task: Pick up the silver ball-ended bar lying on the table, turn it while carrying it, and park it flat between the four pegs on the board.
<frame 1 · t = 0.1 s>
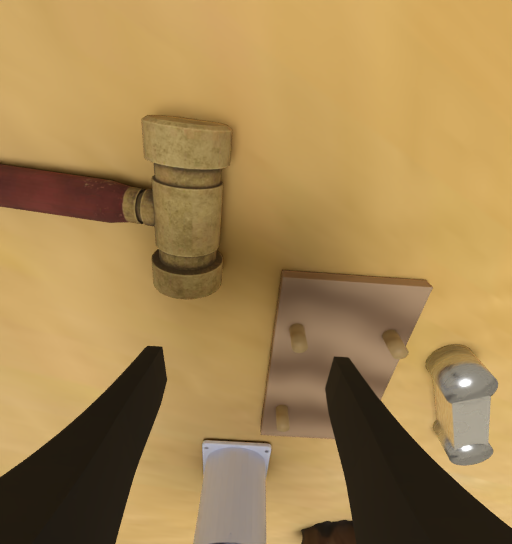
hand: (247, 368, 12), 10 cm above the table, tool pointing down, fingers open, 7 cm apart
gavel: (74, 186, 19), on the table
silver ball-ended bar: (450, 394, 28), on the table
dark brown rock: (340, 532, 46), on the table
board: (327, 366, 26), on the table
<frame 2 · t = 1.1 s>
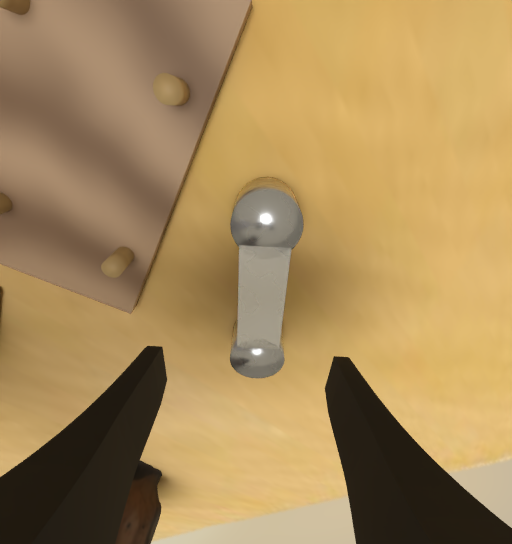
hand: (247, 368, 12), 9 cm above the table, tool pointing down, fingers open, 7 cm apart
silver ball-ended bar: (261, 277, 21), on the table
dark brown rock: (109, 475, 36), on the table
board: (90, 149, 16), on the table
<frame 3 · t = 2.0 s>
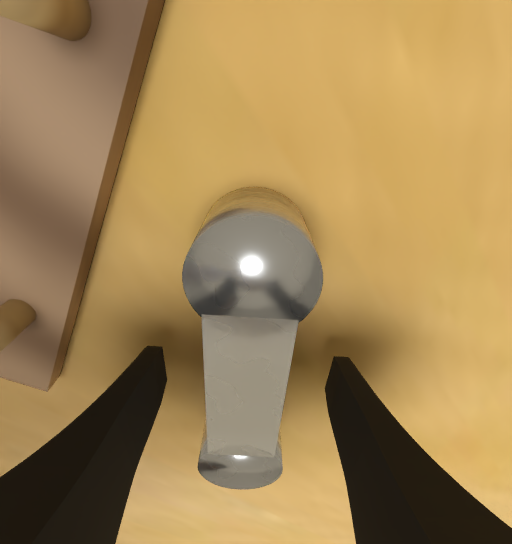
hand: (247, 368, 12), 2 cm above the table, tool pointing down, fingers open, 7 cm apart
silver ball-ended bar: (248, 339, 13), on the table
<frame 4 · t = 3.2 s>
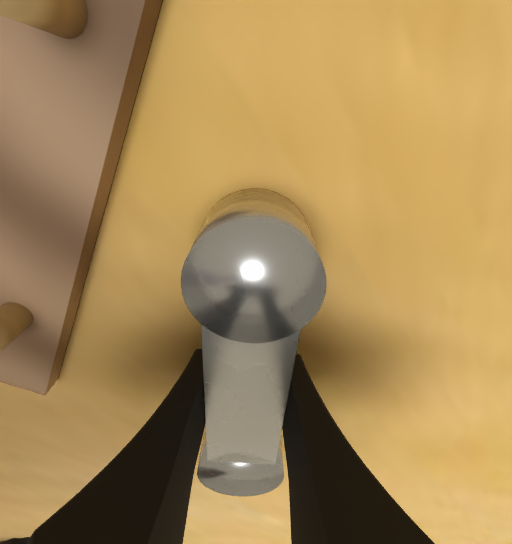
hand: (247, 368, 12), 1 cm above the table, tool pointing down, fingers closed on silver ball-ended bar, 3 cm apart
silver ball-ended bar: (248, 344, 13), on the table, touching gripper
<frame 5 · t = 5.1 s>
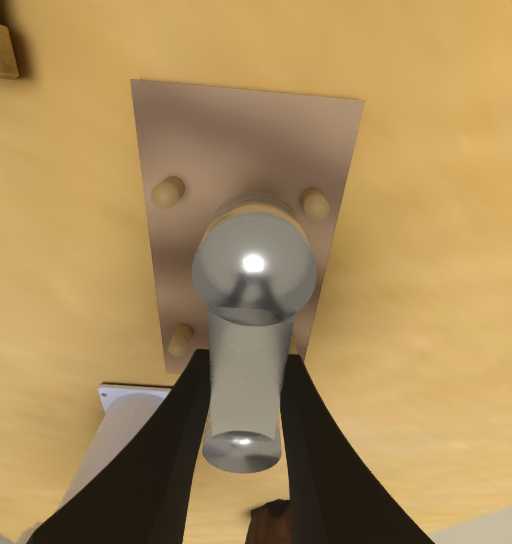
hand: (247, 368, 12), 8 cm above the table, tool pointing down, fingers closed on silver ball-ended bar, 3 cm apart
silver ball-ended bar: (249, 332, 14), point 6 cm above the table, touching gripper
dark brown rock: (297, 514, 39), on the table
board: (239, 265, 19), on the table
when the fingers open (4 cm above the table, at t = 6.8 s): silver ball-ended bar stays where it is, resting on board.
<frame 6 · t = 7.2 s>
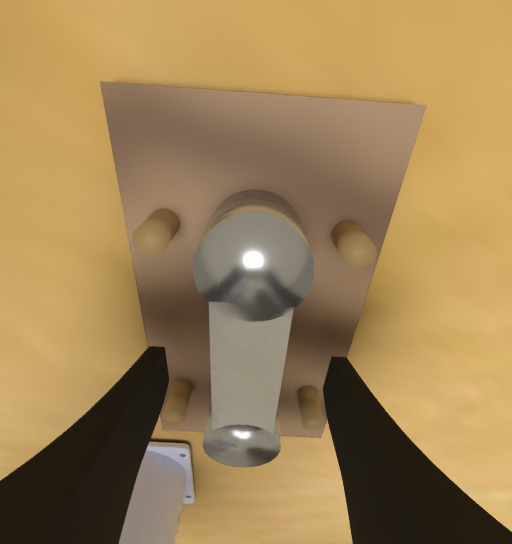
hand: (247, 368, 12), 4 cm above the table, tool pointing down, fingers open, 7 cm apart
silver ball-ended bar: (249, 328, 15), point 1 cm above the table, touching board
board: (250, 310, 15), on the table
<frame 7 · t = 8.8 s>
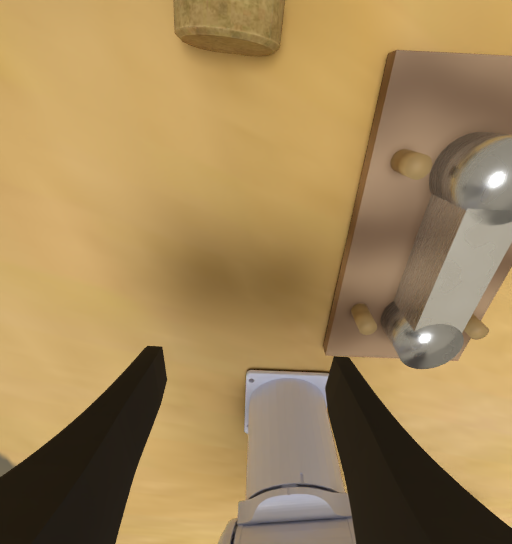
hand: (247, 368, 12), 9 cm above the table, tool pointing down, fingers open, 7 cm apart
silver ball-ended bar: (433, 254, 18), point 1 cm above the table, touching board
board: (427, 242, 19), on the table
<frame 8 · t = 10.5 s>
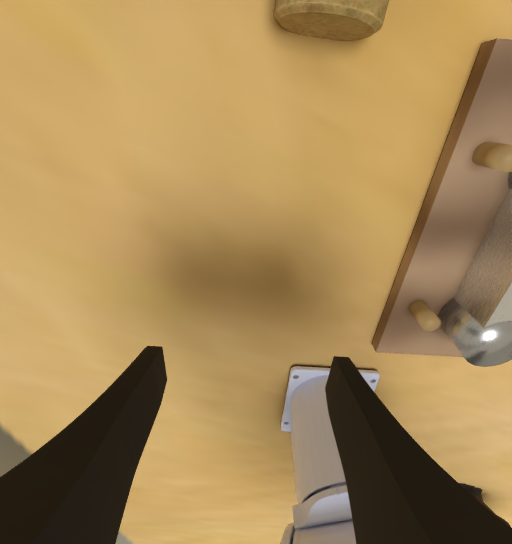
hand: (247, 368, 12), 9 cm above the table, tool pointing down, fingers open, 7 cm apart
silver ball-ended bar: (500, 250, 18), point 1 cm above the table, touching board
board: (493, 238, 19), on the table
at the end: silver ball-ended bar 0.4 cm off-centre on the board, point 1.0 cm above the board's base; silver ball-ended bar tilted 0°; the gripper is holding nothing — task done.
